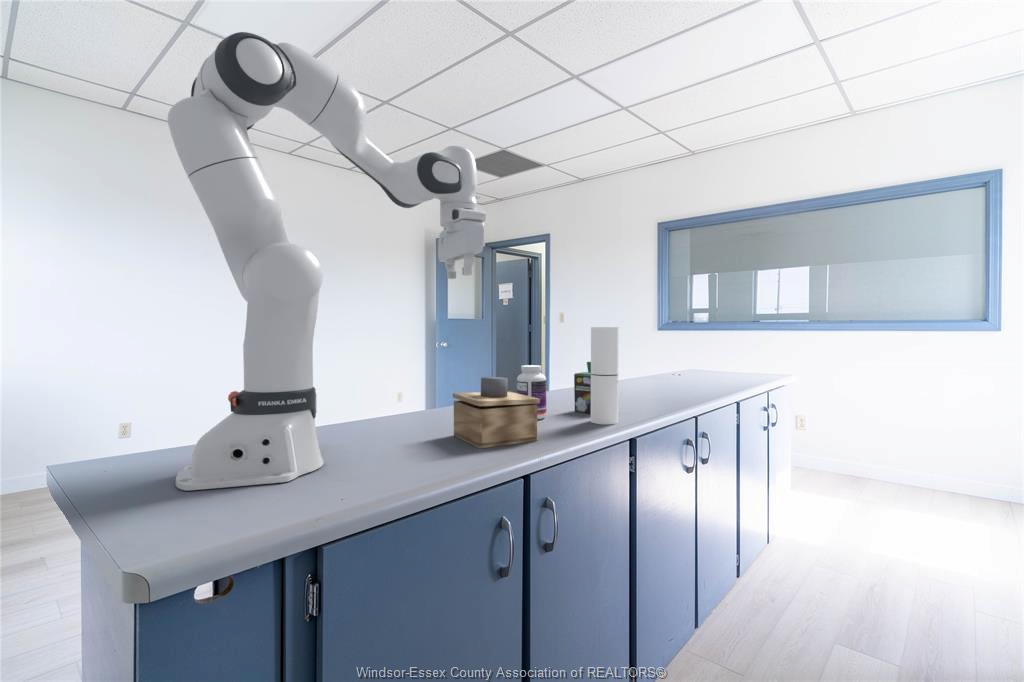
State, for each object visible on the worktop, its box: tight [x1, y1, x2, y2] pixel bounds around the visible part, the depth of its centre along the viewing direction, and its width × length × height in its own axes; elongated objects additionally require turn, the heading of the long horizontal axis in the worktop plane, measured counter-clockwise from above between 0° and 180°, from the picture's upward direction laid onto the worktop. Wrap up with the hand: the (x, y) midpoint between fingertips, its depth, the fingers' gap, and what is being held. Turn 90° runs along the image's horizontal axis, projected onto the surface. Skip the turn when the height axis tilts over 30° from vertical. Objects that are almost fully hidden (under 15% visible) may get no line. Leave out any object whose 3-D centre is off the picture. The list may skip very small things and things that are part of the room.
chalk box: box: [573, 361, 591, 415], centre depth 146 cm, size 9×9×15 cm
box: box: [453, 399, 538, 449], centre depth 111 cm, size 14×14×8 cm
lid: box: [452, 390, 540, 406], centre depth 111 cm, size 15×15×1 cm
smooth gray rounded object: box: [480, 376, 509, 398], centre depth 111 cm, size 6×6×4 cm
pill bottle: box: [516, 364, 547, 421], centre depth 135 cm, size 8×8×14 cm
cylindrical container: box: [590, 326, 620, 425], centre depth 130 cm, size 7×7×25 cm
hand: (459, 277), depth 118 cm, fingers open, 8 cm apart
